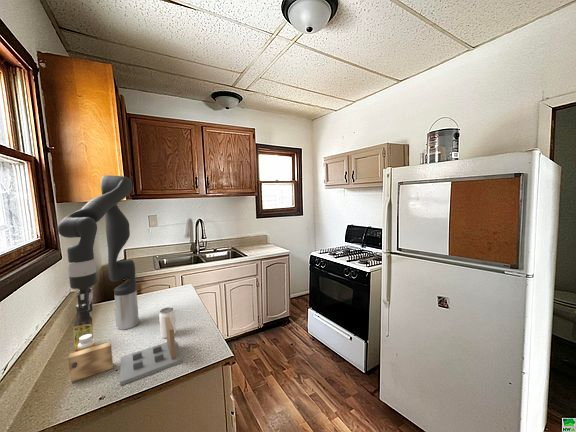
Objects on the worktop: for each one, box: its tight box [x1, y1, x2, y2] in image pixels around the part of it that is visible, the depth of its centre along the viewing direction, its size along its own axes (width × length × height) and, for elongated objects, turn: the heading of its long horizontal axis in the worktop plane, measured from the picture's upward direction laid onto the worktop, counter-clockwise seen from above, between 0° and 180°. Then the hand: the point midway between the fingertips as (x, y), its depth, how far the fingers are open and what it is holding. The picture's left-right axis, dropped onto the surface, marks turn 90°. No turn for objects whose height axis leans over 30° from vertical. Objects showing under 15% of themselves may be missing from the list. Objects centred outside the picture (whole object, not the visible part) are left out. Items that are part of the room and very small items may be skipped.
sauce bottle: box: [73, 304, 94, 352], centre depth 104 cm, size 7×6×20 cm
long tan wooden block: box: [67, 341, 114, 383], centre depth 90 cm, size 12×4×9 cm, turn 124°
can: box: [158, 306, 177, 339], centre depth 114 cm, size 6×6×12 cm
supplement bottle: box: [78, 334, 96, 351], centre depth 98 cm, size 5×5×10 cm
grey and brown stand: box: [119, 317, 183, 386], centre depth 95 cm, size 20×16×13 cm
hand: (87, 316), depth 89 cm, fingers open, 8 cm apart
